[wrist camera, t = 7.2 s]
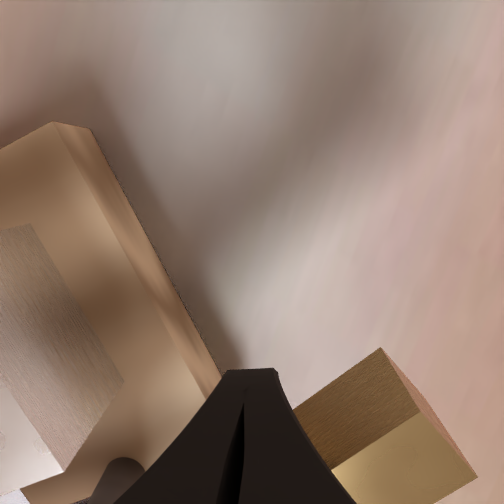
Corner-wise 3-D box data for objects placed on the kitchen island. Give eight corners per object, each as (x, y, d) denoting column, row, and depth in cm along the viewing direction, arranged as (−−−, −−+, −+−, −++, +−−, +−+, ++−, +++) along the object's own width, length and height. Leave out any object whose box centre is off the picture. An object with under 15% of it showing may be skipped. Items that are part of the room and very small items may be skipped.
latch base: (240, 411, 20) (222, 575, 12) (74, 474, 21) (-41, 656, 14) (89, 128, 17) (-72, 95, 9) (-93, 225, 18) (-372, 271, 10)
